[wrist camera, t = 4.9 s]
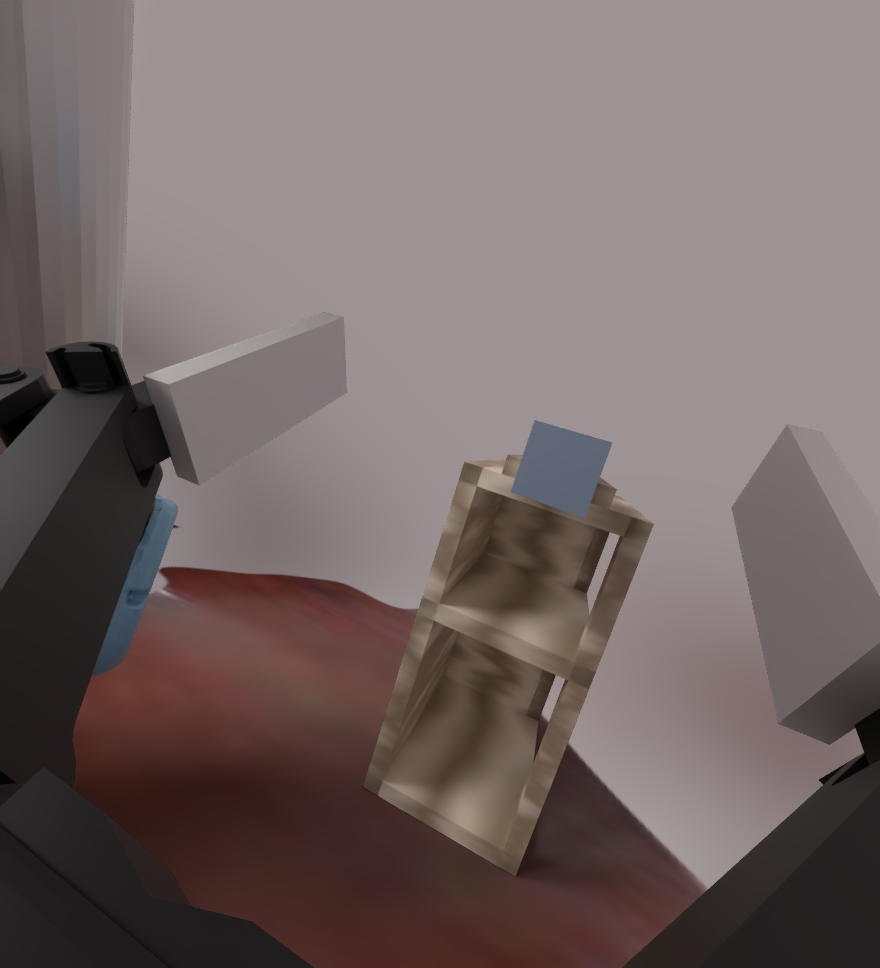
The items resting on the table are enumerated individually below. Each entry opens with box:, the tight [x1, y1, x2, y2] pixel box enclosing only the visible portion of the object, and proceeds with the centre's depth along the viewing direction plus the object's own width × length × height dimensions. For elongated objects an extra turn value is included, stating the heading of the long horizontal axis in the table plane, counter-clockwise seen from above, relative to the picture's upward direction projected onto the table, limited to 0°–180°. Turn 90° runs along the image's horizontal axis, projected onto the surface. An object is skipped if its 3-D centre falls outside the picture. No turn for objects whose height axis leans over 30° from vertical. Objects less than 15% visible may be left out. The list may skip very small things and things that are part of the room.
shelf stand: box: [363, 455, 654, 876], centre depth 43 cm, size 14×20×32 cm
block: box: [511, 421, 612, 517], centre depth 34 cm, size 4×26×4 cm, turn 162°
